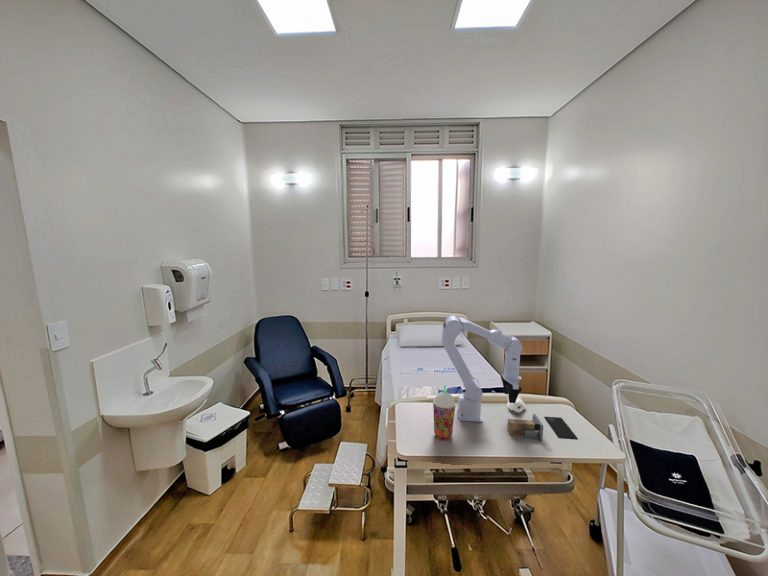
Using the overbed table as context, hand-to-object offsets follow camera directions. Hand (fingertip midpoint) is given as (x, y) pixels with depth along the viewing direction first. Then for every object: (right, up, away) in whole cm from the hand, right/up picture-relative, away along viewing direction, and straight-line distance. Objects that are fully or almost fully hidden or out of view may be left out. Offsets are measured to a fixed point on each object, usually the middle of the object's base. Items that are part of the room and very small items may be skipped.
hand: (509, 398), depth 131 cm
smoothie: (-29, -11, -10) cm, 33 cm away
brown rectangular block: (+1, -11, -8) cm, 14 cm away
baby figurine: (+7, -8, +11) cm, 16 cm away
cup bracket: (+4, -11, -9) cm, 14 cm away
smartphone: (+18, -11, -4) cm, 22 cm away
